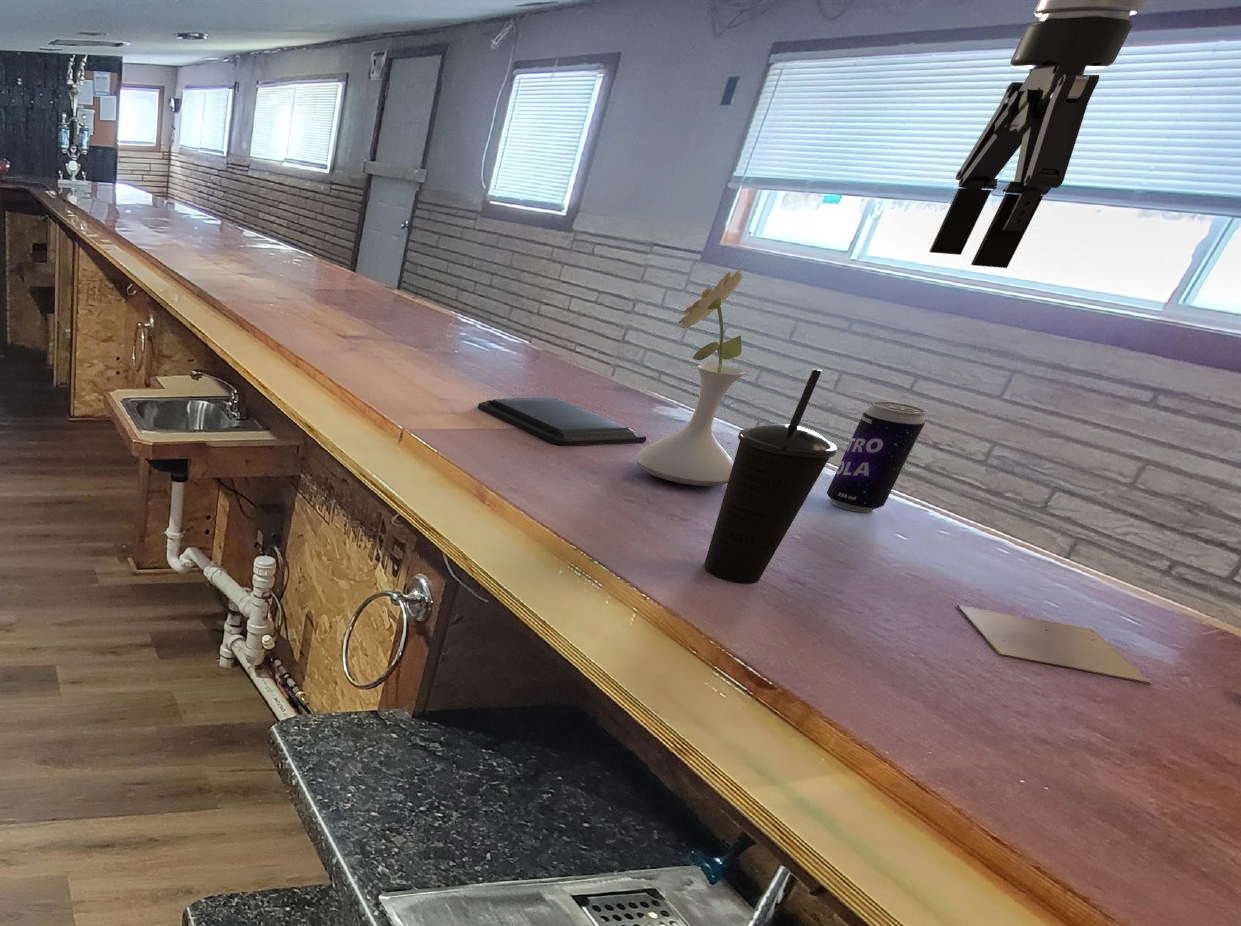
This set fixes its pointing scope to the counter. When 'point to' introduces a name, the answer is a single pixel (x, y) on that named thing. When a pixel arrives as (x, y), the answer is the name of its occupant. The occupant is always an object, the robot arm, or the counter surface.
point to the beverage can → (876, 456)
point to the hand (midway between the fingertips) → (965, 260)
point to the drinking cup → (765, 493)
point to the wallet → (560, 421)
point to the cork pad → (1051, 643)
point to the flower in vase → (700, 406)
